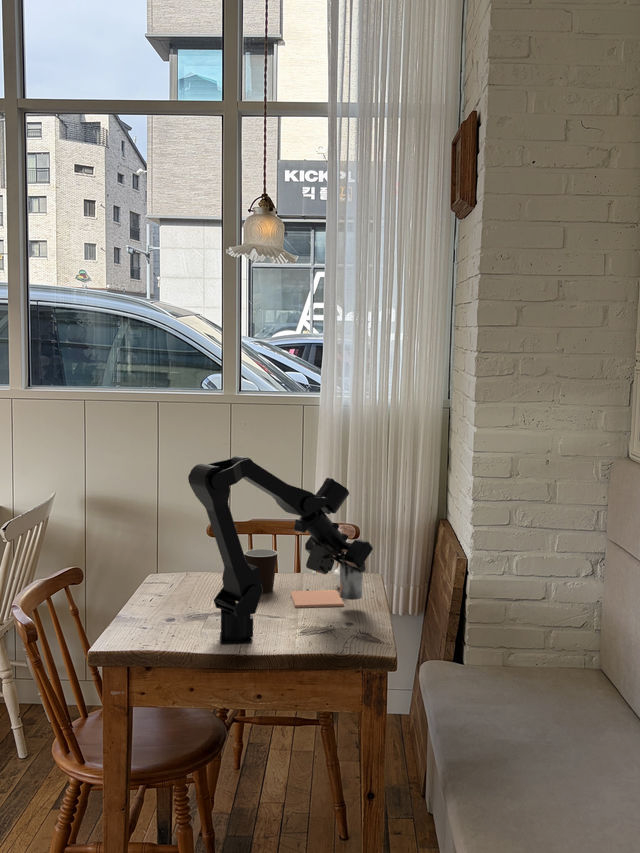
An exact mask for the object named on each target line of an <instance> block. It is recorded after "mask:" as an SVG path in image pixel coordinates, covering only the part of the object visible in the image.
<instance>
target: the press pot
mask: <svg viewBox="0 0 640 853" xmlns="http://www.w3.org/2000/svg"><path fill="white" fill-rule="evenodd" d="M344 559H345V555H342V556H340V587H339V592H338V593H339V596H340V598H341V599H342V600H349V601H350V600H351V601H353V600H360V599H362V598H363V579H364V577H363V576H364V574H363V573H364V572H361V571H360V570H358V569H357V568H356V567H353V566H348V565H345V564H344V563H345V560H344Z"/></svg>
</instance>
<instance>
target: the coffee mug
mask: <svg viewBox="0 0 640 853" xmlns="http://www.w3.org/2000/svg"><path fill="white" fill-rule="evenodd" d="M243 553H244V556H245V559H246V562H247V564H250V565H253V566H256V567H258V568H259V571H260V577H261V579H262V581H263V582H264V584H261V585H262V589H263V593H262V594H261V595H265V594H270V593H272V592H273V591H274V584H275V583H274V582H275V577H276V569H277V568H276V567H277V559H278V551H276V550H273V549H270V548H269V549H268V548H256V549H254V548H253V549H247V550H246V551H243Z"/></svg>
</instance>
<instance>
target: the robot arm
mask: <svg viewBox="0 0 640 853" xmlns="http://www.w3.org/2000/svg"><path fill="white" fill-rule="evenodd" d="M242 479H243V480H245V481H246V482H248V483H249V484H250V485H253V486H255V487H256V488H257V489H259V490H261V491H262V492H264V493H266V494H267V495H269V496H271V497H272V498H273V500H274V501H275V502H276V504H277V505H278V507H280V508H281V509H282V510H283V511H284V512H286V513H288V514H291V515H296V516H299V519H295V522H294V523H295V524H294V525H293V530H294V531H295V532H298V533H303V534H305V533H306V532H308V533H309V535H310V536H309V538H308V539H307V540H306V542H305V546H304V547H305V548H304V550H306V552H307V553H308V554H309V555H308V558H307V562H306V564H305V566H306V568H307V569H309V570H311V571H314V572H316V573H319V574H322V575H327V574H328V573H329V572H331V571H332V570H333V567H334V565H335V562H336V563H338V565H339V564H340V556H342V555H345V559H344V560H345V563H344V564H345V565H348V566H353V567H356V568H357V569H358V570H360V571H361V572H363V573H365V571H366V563H365V561H366V560H367V558H368V557H369V556H370V554H371V553H372V551H373V549H374V548H373V546H372V544H371V543H370V542H369V541H367V540H363V539H360V538H357V539H354V540H353V541H352V542H351V543H350V542H347V541H348V539H349V535H348V534H346V533H342V532H341V531H340V530H339V528H340V525H339V524H338V523H337V522H333V521H332V520H331V519H330V518H329V517H328V516H327V515H331V514H337V512H338V511H339V510H340V508H341V507H342V505H343V504H344V502H346V499H347V498H348V496H350V491H349V489H347V487H345V486H344V485H342V484H341V483H339V482H337V481H335V479H334V478H332V477H326V479H325V480H324V482H323V483H322V485H321V486H320V488H319V489H318V491H317V492H316V493H315V494H314V493H313V492H311V491H309V490H307V489H304V488H300V487H297V486H294V485H291V484H288V483H286V482H285V481H284V480H282V479H280V478H279V477H277V476H276V475H274V474H273V473H271V472H269V471H268V470H266V469H265V468H263V467H261V466H260V465H259V464H257V463H256V462H254V461H253V459H251V458H250V457H246V456H241V455H240V456H239V455H236V456H232V457H230V458H227V459H224V460H219V461H214V462H210V463H207V464H205V463H199V464H196V465H195V466H194V467H193V468H192V469H191V470H190V473H189V474H188V478H187V480H188V483H189V486H190V488H191V490H192V492H193V493H194V495H195V497H196V498H197V499H198V500H199V502H200V503H201V505H202V506H203V507H204V509H205V510H206V514H207V516H208V519H209V523H210V526H211V530H212V532H213V536H214V538H215V542H216V545H217V547H218V551H219V554H220V557H221V560H222V563H223V567H224V568H223V572H222V573H223V574H222V577H221V578H222V588H221V589H220V591H218V593H217V594H216V596H215V597H214V599H213V604H214V606H215V608H216V609H220V632H219V640H220V641H219V642H220V644H246V643H248V644H249V643H252V638H254V617H253V615H254V614H256V612H257V609H258V607H259V606H258V605H259V602H260V598H261V597H262V595H263V594H262V593H263V589H262V585H261V584H264V582H263V581H262V579H261V577H260V571H259V568H258V567H256V566H253V565H250V564H247V562H246V559H245V556H244V551H243V547H242V544H241V541H240V538H239V534H238V532H237V528H236V524H235V521H234V519H233V515H232V512H231V509H230V505H229V499H230V494H231V486H233V485H235V484H237V483H238V482H239V481H241V480H242Z"/></svg>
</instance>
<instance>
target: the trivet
mask: <svg viewBox="0 0 640 853" xmlns="http://www.w3.org/2000/svg"><path fill="white" fill-rule="evenodd" d="M339 593H340V592H338V589H328V590H326V589H324V590H295V591H294V590H291V591H290V595H291V599H292V604H293V606H294V608H296V609H297V608H323V607H324V608H327V607H344V606H345V603H344V601H343V598H340V596H339Z"/></svg>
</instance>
